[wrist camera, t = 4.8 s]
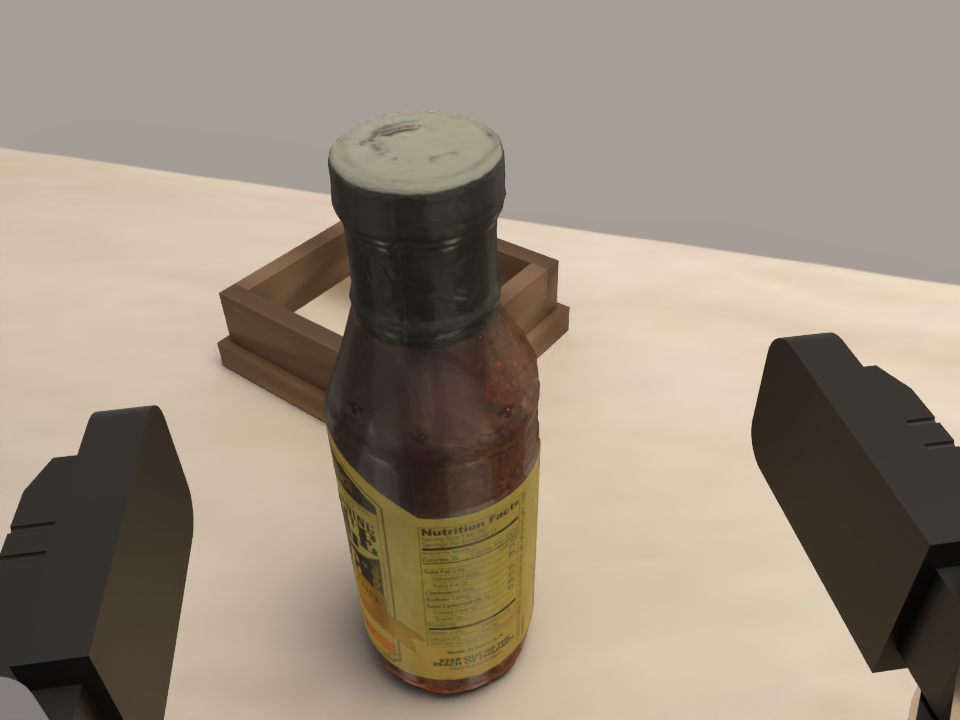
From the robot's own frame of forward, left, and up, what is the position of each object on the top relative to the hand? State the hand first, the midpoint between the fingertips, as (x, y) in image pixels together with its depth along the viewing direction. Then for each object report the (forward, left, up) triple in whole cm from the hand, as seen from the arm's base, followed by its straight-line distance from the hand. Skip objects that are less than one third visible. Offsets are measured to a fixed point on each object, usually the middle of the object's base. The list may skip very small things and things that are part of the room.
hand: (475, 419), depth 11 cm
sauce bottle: (+7, +7, -21) cm, 23 cm away
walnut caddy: (+19, +20, -20) cm, 35 cm away
